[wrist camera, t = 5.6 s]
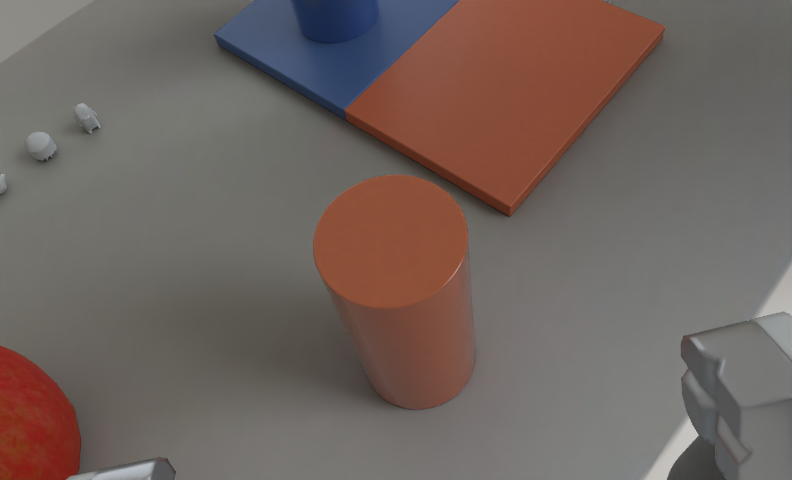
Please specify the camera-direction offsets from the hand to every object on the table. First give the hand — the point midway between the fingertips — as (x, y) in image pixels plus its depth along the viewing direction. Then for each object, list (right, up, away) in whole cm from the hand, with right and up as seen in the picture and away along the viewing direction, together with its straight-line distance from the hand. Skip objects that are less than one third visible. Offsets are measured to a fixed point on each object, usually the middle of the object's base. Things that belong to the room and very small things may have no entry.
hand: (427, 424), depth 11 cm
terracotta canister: (+1, -3, +23) cm, 23 cm away
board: (+2, +16, +34) cm, 37 cm away
